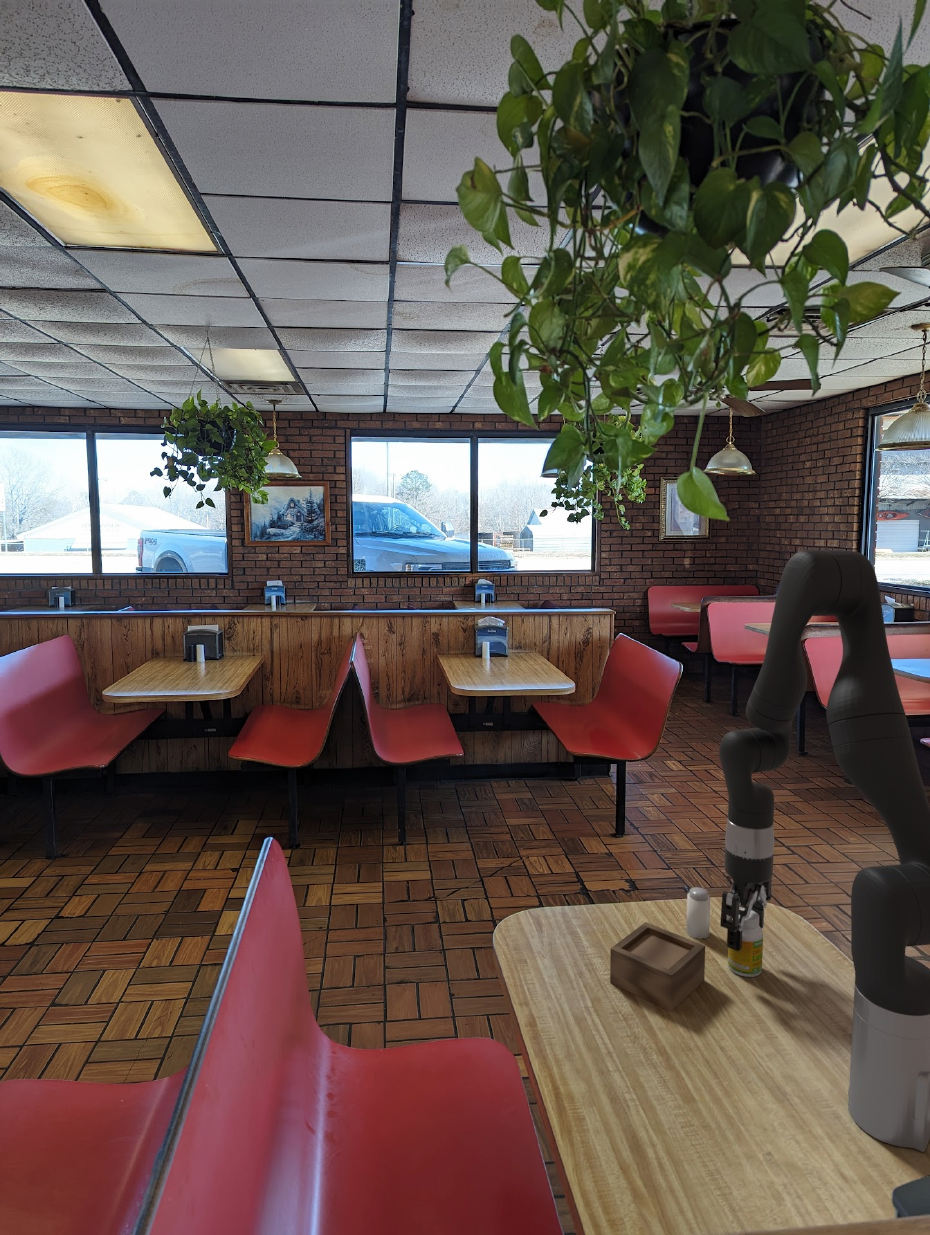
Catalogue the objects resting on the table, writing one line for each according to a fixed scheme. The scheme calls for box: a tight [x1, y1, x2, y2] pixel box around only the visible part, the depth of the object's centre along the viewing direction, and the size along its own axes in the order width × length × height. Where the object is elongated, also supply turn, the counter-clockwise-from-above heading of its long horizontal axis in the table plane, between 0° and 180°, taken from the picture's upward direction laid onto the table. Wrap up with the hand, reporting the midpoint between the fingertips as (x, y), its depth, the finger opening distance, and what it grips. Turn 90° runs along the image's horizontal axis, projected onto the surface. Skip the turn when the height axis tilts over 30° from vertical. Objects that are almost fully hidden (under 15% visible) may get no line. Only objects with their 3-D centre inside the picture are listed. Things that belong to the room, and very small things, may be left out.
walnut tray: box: [609, 921, 706, 1013], centre depth 125 cm, size 11×11×6 cm
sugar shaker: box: [686, 886, 711, 940], centre depth 139 cm, size 4×4×8 cm
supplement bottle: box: [727, 908, 764, 978], centre depth 127 cm, size 5×5×10 cm
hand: (745, 937), depth 128 cm, fingers open, 8 cm apart
